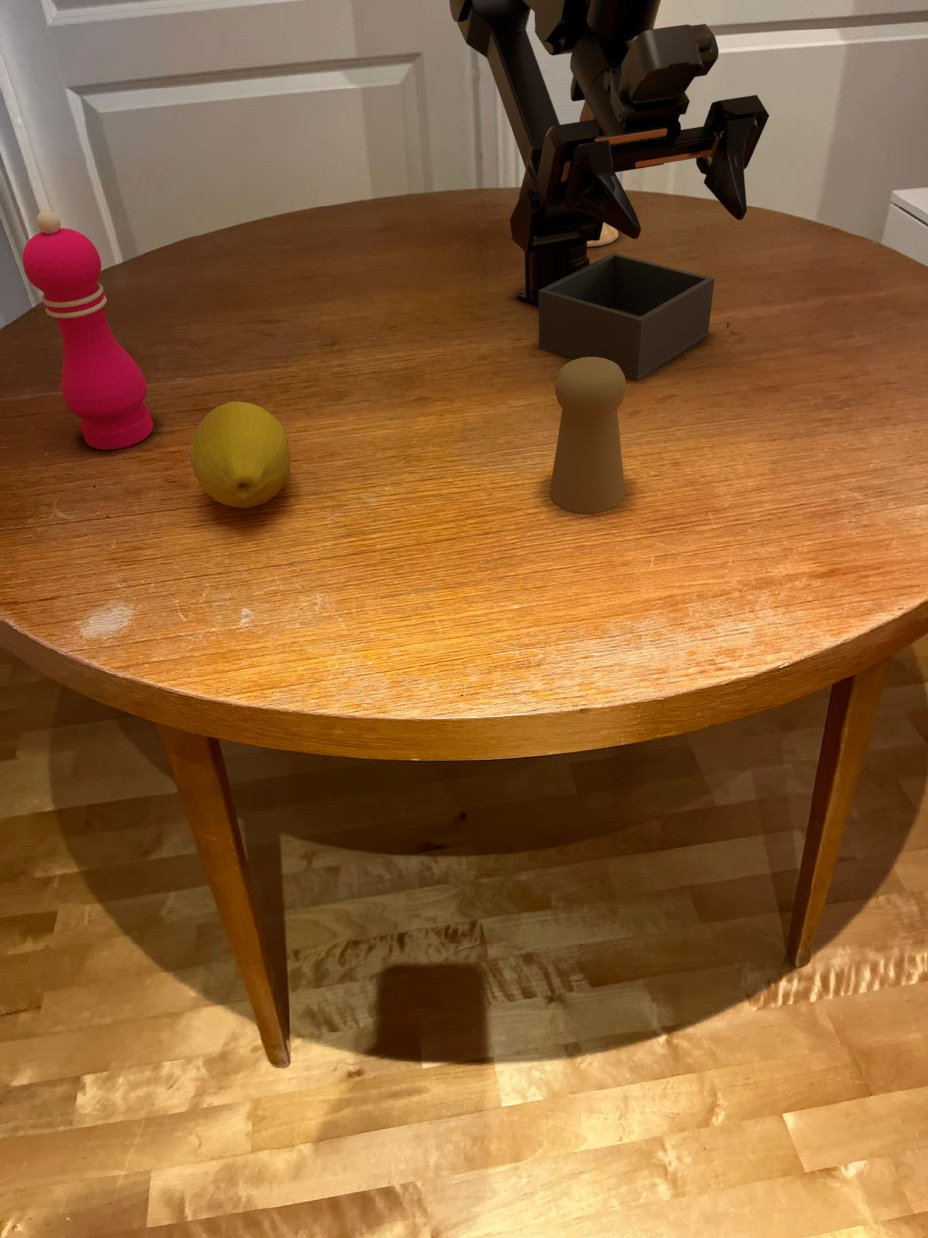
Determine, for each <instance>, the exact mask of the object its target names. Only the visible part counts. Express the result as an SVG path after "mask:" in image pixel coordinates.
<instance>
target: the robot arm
mask: <svg viewBox="0 0 928 1238" xmlns="http://www.w3.org/2000/svg"><path fill="white" fill-rule="evenodd" d="M448 1H449V9H450V10H449V11H450V15H451V18H452V20H453V22H455V23H456V24H457V26H458V29H459V31H460V33H461V35H462V37H463V40H464V41H465V44H466V45H467V46H469V47H470V48H472V49H473V50H474V51H476V52H477V53H479V54H480V55H481V56H483V57H484V58H486V60H487V62H488V66H489V68H490V71H491V74H492V76H493V79H494V83H495V85H496V88H497V91H498V94H499V97H500V99H501V102H502V105H503V108H504V111H505V114H506V117H507V119H508V122H509V125H510V128H511V131H512V133H513V134H512V135H513V137H514V140H515V143H516V145H517V148H518V152H519V154H520V157H521V160H522V163H523V166H524V170H525V171H524V174H523V178H522V182H521V185H520V190H519V193H518V200H517V202H516V205H515V207H514V209H513V212H512V213H511V216H510V218H509V225H510V231H511V240H512V241H513V242H514V243H515V244H516V245H517V246H519V248H520V249H522V250H523V252H524V285H525V286H524V289H522V290H520V291H518V292H516V294H515V298H516V299H517V300H520V301H523V302H526V303H530V304H533V305H536V306H539V290H541V289H543V288H545V287H547V286H548V285H550V284H552V283H554V282H556V281H558V280H560V279H562V278H564V277H566V276H568V275H570V274H572V273H574V272H576V271H578V270H580V269H582V268H584V267H586V266H588V265H590V257H589V256H588V247H587V241H593V240H594V241H598V240H600V236H601V232H602V227H603V222H604V223H606V224H608V225H610V226H611V227H613V228H615V229H616V230H617V231H618V232H620V233H622V234H624V235H625V236H626V237H629V238H630V239H632V240H637V239H639V237H640V235H641V231H642V227H641V224H640V220H639V218H638V215H637V213H636V211H635V209H634V207H633V205H632V203H631V200H630V198H629V197H628V195H627V193H626V191H625V189H624V187H623V185H622V184H621V181H620V180H619V177H618V175H617V173H621V172H626V171H634V170H639V169H646V168H650V167H651V168H652V167H657V166H663V165H665V164H668V163H669V164H670V163H674V162H681V161H687V160H694V159H695V164H696V167H697V168H698V170H699V172H700V174H703V175H705V177H704V180H703V184H704V185H705V187H706V188H707V189H708V190H709V191H710V192H711V193H712V195H713V196H714V197H715V198H716V199H717V200H718V202H719V203H720V204H721V205H722V206H723V208H725V210H726V211H727V212H728V213H729V214H730V215H731V216H732V217H733V218H735V219H736V220H737V221H742V220H744V218H745V216H746V213H747V211H748V206H747V205H748V204H747V194H746V182H745V181H746V180H745V169H747V168H748V167H749V163H750V162H751V159H752V156H753V154H754V153H755V150H756V147H757V146H758V143H759V141H760V139H761V136H762V134H763V132H764V129H765V128H766V125H767V122H768V121H769V117H770V114H769V112H768V111H767V109H766V107H765V106H764V104H763V102H762V100H761V99H760V97H759V96H758V95H757V94H753V95H746V96H741V97H739V96H738V97H733V98H728V99H719V100H717V101H713V102H711V104H710V107H709V109H708V111H707V114H706V115H707V116H706V117H705V121H704V123H703V126H696V127H689V128H684V129H683V128H682V124H681V122H680V116H683V115H686V114H687V110H688V109H689V105H690V102H691V100H690V99H689V97H688V95H687V93H686V91H687V90H688V88H689V87H690V85H691V84H692V82H693V80H694V79H695V78H698V77H704V76H705V77H706V76H707V75H708V74H709V72H710V71H711V70H712V68H713V66H714V65H715V64H716V62H717V60H718V59H719V53H720V50H719V49H720V48H719V46H718V42H717V38H716V36H715V34H714V33H713V31H712V30H711V29H710V28H709V26H708V25H707V23H701V24H693V25H691V24H680V25H672V26H665V27H658V28H657V27H656V28H654V27H655V24H656V20H657V16H658V12H659V9H660V5H661V1H662V0H448ZM531 11H532V12H534V33H535V35H536V36H537V38H538V41H539V42H540V44H541V45H542V47H543V48H544V49H545V51H546V52H547V53H548V55H551V56H552V57H553V56H562V55H567V54H571V55H570V60H569V64H570V65H569V68H570V72H571V73H572V79H571V83H570V89H569V90H570V91H569V92H570V100H571V101H572V102H580V101H585V100H586V101H587V103H588V105H589V107H590V109H591V111H592V113H593V115H594V117H595V118H594V120H588V121H581V122H579V121H576V122H568V123H561V124H560V120H559V117H558V114H557V112H556V109H555V107H554V103H553V101H552V99H551V95H550V93H549V90H548V87H547V83H546V81H545V79H544V76H543V74H542V73H543V72H542V71H541V68H540V65H539V62H538V60H537V56H536V54H535V51H534V48H533V46H532V43H531V40H530V37H529V34H528V31H527V27H528V24H529V23H528V22H529V19H530V15H531Z"/></svg>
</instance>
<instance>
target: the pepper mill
mask: <svg viewBox="0 0 928 1238" xmlns="http://www.w3.org/2000/svg"><path fill="white" fill-rule="evenodd" d="M61 224H62V223H61V220H60V217H59V216H58V215H57V214H56V213H55V212H53V211H51V210H43V211H40V212H39V213H38V215H37V216H36V225H37V228H38V230H39V231H40V232H38V233H37V234H35V235H33V236H32V237H31V238H29V240H28V241H27V242H26V244H25V245H24V248H23V251H22V266H23V270H24V273H25V276H26V277H27V279H28V281H29V282H30V284H32V286H34V287H35V288H37V289H38V290H39V291H41V292H42V293H43V294H42V296H41V302H42V303H43V304H44V306H45V312H46V314H47V315H48V316H49V317H52V318H53V319H54V320H55V323H56V325H57V326H58V329H59V332H60V337H61V339H62V344H63V361H62V369H61V377H60V379H61V393H62V395H63V400H64V403H65V406H66V407H67V409H68V410H69V411H70V412H71V413H72V414H74V415H75V416H76V417H78V418H80V421H79V427H80V430H81V433H82V435H83V438H84V440H85V443H86V445H88V446H89V447H91V448H94V449H96V450H101V451H102V450H103V451H104V450H105V451H113V450H118V449H119V450H120V449H124V448H129V447H131V446H134V445H136V444H138V443H140V442H142V441H144V440H145V439H147V437H149V436H150V435H151V433H152V431H153V429H154V422H153V419H152V416H151V413H150V410H149V407H148V406H147V405H146V404H145V403H144V401H145V399H146V396H147V395H148V394H147V393H148V384H147V382H146V379H145V376H144V375H143V372H142V370H141V368H140V367H139V366H138V364H137V362H136V361H135V360H134V359H133V357H132V356H131V355H130V353H128V352H127V351H126V350H125V349H124V348H123V347H122V345H121V344H120V343H119V342H118V340H117V339H116V337H115V336H114V334H113V333H112V331H111V328H110V326H109V323H108V321H107V318H106V314H105V313H106V312H105V308H104V306H105V305H106V304H107V299H108V298H107V296H106V295H105V294H104V286H103V285H102V284H101V283H100V282H98V279H99V277H100V275H101V272H102V260H101V257H100V253H99V251H98V250H97V247H96V246H95V245H94V243H93V242H92V241H91V240H90V239H89V237H87V236H86V235H85V234H83V233H82V232H79V231H78V230H75V229H72V228H66V227H61Z"/></svg>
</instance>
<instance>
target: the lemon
mask: <svg viewBox="0 0 928 1238" xmlns="http://www.w3.org/2000/svg"><path fill="white" fill-rule="evenodd" d="M190 464H191V468H192V470H193V473H194V475H195V478H196V479H197V481H198V483H199V485H200V486H201V488H202V489H203V490H204V491H205V493H206V494H207V495H208V496H209V497H211V498H212V499H213V500H214V501H215V502H218V503H219V504H222V505H225V506H227V507H232V508H240V509H243V508H245V509H247V508H249V509H250V508H254V507H258V506H260V505H263V504H265V503H267V502H269V501H270V500H272V499H273V498H275V496H277V495H278V494H279V493H280V492H281V490H282V489H283V488H284V486H285V484H286V483H287V481H288V479H289V476H290V474H291V465H292V457H291V450H290V445H289V441H288V437H287V434H286V432H285V430H284V428H283V426H282V424H281V423H280V422H279V420H278V419H277V418H276V417H275V416H274V415H273V414H272V413H270V412H269V411H267V410H266V409H265V408H263V407H261V406H259V405H257V404H255V403H251V402H244V401H229V402H227V403H224V404H221V405H218V406H216V407H215V408H214V409H212V410H211V411H209V412H208V413H207V414H206V415H205V416H204V417H203V418H202V420H201V421H200V423H199V424H198V425H197V428H196V431H195V432H194V436H193V439H192V443H191V446H190Z"/></svg>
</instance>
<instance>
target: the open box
mask: <svg viewBox="0 0 928 1238" xmlns="http://www.w3.org/2000/svg"><path fill="white" fill-rule="evenodd" d="M714 286H715V277H711V276H707V275H703V274H700V273H696V272H691V271H688V270H683V269H680V268H675V267H672V266H667V265H663V264H661V263H660V264H659V263H655V262H652V261H648V260H643V259H640V258H636V257H632V256H628V255H625V254H621V253H616V252H612V253H610V254H608V255H606V256H605V257H602V258H600V259H598V260H596V261H594V262H592V263H591V264H590V263H589V265H588V266H586V267H584V268H582V269H580V270H578V271H576V272H574V273H572V274H570V275H568V276H566V277H564V278H562V279H560V280H558V281H556V282H554V283H552V284H550V285H548V286H547V287H545V288H543V289H541V290H539V305H538V348H539V349H541V350H545V351H547V352H549V353H552V354H556V355H559V356H562V357H565V358H568V359H570V360H575V359H579V358H584V357H599V358H605V359H607V360H610V361H612V362H614V363H616V364H617V365H619V367H620V369H621V370H622V372H623V374H624V376H625V378H628V379H630V380H633V381H636V382H638V381H640V380H641V379H643V378H645V377H646V376H648V375H650V374H651V373H653V372H655V370H657V369H659V368H660V367H662V366H664V365H665V364H667V363H668V362H670V361H672V360H673V359H675V358H676V357H679V355H681V354H682V353H684V352H685V351H687V350H688V349H691V348H692V347H693V346H695V345H697V344H698V343H700V342H702V341H703V340H705V339H706V338H708V337H709V331H710V322H711V313H712V304H713V295H714Z"/></svg>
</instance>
